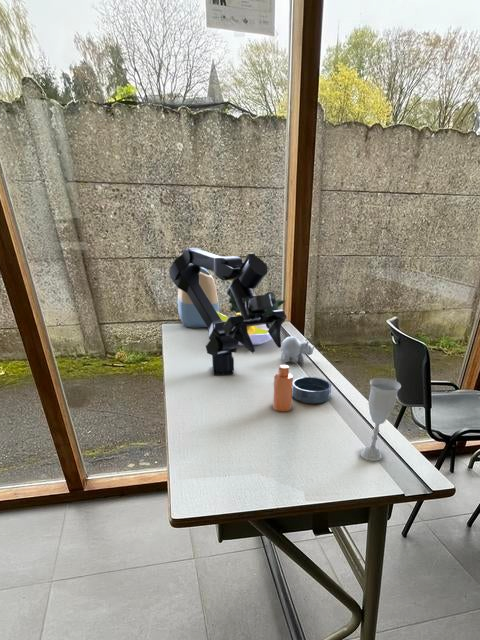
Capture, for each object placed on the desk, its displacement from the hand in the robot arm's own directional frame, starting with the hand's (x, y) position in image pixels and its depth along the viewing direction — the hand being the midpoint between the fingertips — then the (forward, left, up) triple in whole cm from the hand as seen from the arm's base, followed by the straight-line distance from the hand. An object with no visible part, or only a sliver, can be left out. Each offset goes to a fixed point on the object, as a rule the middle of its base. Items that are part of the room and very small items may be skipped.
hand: (267, 349), depth 124 cm
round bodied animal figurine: (+17, +30, -14) cm, 37 cm away
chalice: (+19, -39, -14) cm, 46 cm away
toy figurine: (+11, +85, -14) cm, 87 cm away
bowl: (+13, -3, -13) cm, 19 cm away
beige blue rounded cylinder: (-15, +81, -14) cm, 83 cm away
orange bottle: (+3, -10, -13) cm, 17 cm away
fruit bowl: (+1, +56, -14) cm, 58 cm away
